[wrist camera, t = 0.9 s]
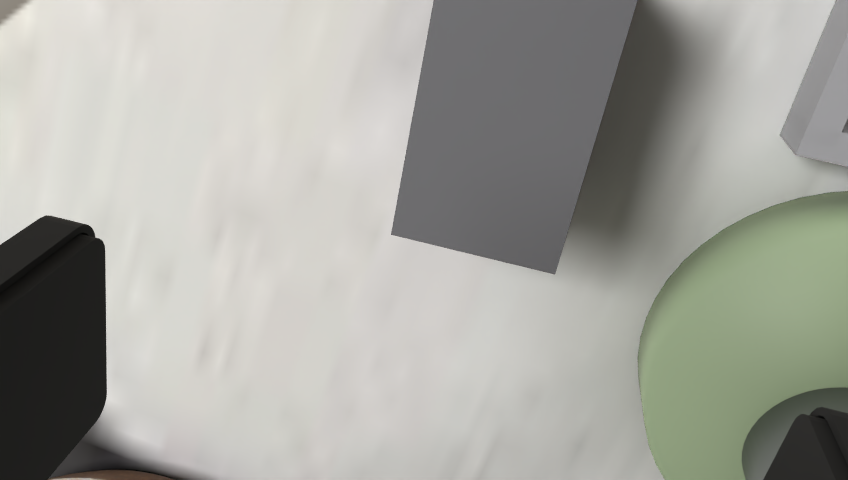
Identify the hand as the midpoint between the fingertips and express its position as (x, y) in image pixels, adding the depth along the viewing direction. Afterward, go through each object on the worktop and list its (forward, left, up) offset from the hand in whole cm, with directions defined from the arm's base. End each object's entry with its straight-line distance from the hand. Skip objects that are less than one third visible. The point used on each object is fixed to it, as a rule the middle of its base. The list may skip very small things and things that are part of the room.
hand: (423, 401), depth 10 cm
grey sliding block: (0, 0, -18) cm, 18 cm away
